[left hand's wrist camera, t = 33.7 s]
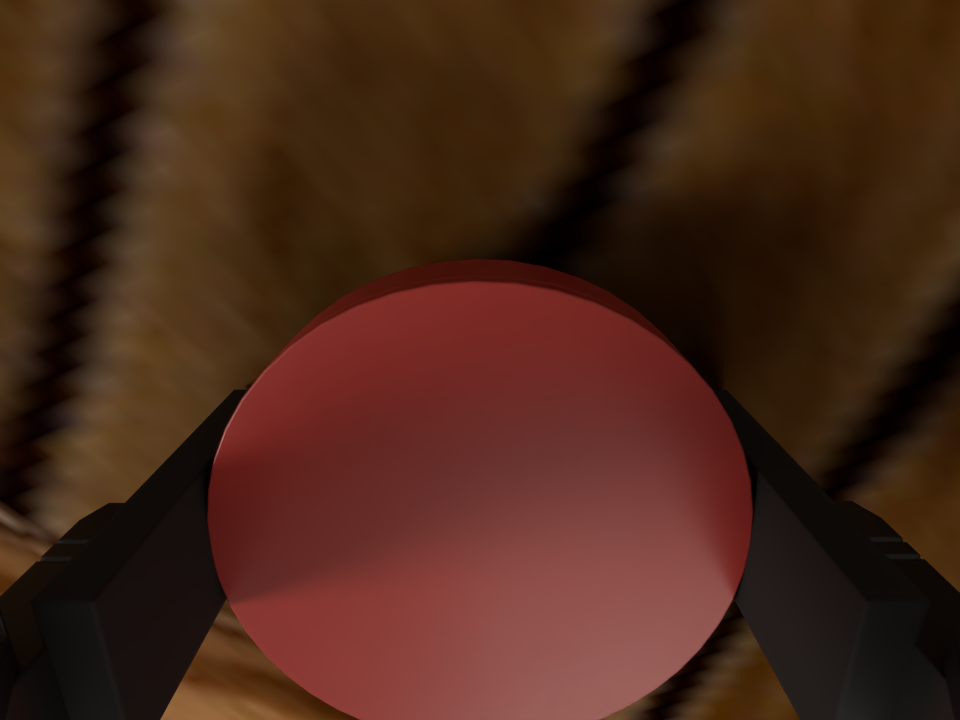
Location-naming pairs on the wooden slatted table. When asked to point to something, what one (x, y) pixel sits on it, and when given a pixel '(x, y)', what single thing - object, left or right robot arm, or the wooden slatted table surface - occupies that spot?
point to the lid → (480, 500)
